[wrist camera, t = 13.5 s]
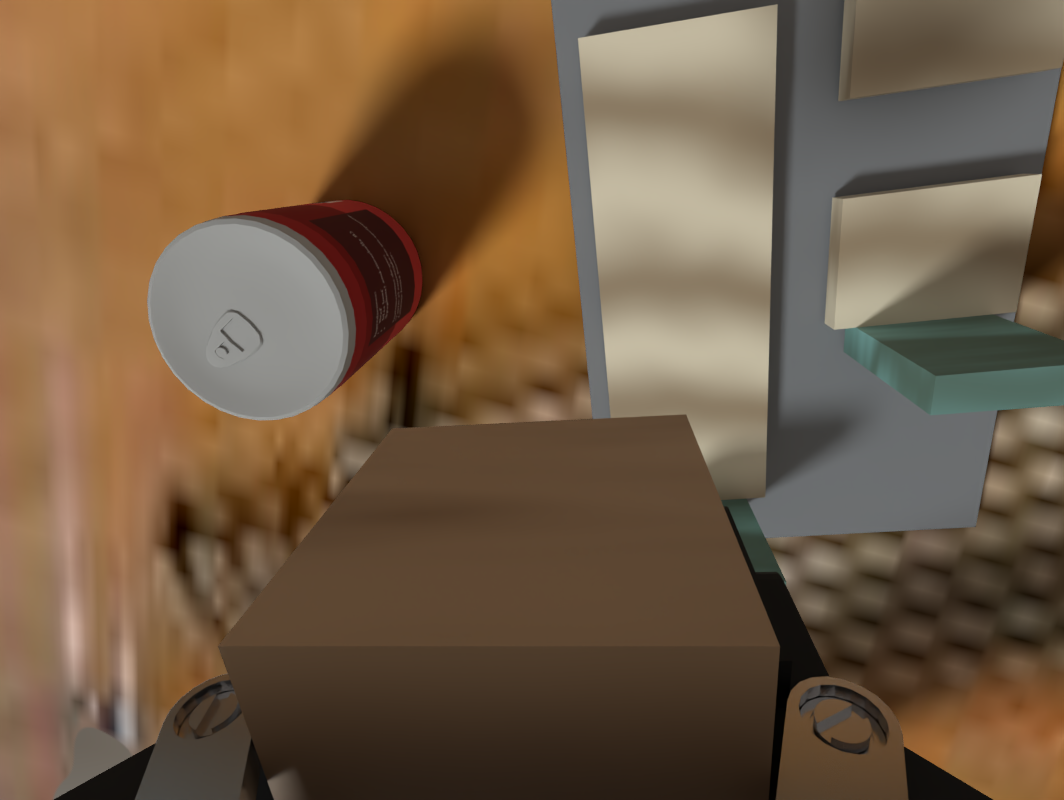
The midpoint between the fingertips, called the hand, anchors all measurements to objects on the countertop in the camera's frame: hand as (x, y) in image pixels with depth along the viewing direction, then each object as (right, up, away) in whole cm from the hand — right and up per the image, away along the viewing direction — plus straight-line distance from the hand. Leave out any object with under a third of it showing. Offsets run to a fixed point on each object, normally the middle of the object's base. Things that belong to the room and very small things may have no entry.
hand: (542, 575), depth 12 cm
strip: (+7, +8, +17) cm, 20 cm away
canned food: (-10, +11, +20) cm, 24 cm away
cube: (0, 0, +1) cm, 1 cm away
